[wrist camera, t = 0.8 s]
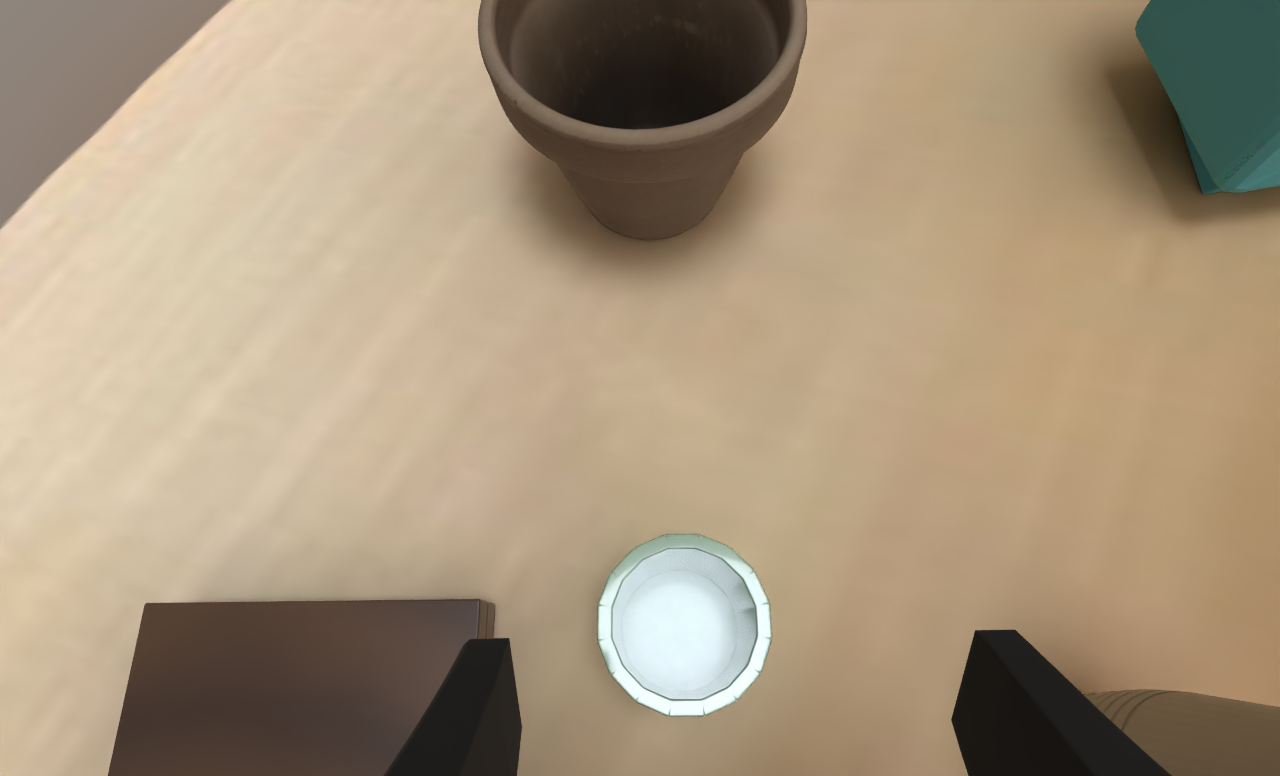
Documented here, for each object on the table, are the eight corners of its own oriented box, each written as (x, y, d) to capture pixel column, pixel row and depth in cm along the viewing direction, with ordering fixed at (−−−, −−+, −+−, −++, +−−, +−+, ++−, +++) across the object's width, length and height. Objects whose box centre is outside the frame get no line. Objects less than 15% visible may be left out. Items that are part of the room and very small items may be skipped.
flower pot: (475, 185, 35) (405, 8, 25) (644, 48, 37) (637, -158, 28) (648, 340, 32) (642, 205, 22) (819, 180, 34) (879, -2, 25)
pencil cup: (751, 702, 27) (777, 715, 20) (611, 703, 27) (595, 717, 21) (743, 559, 28) (765, 532, 22) (611, 560, 28) (597, 534, 22)
